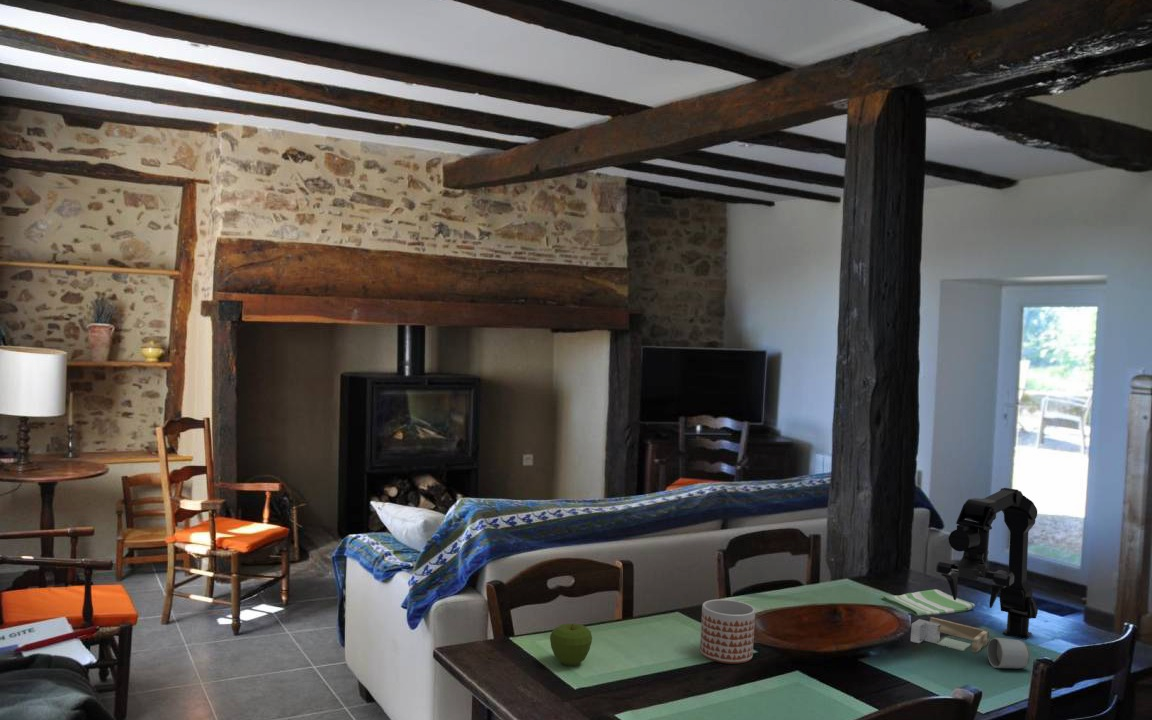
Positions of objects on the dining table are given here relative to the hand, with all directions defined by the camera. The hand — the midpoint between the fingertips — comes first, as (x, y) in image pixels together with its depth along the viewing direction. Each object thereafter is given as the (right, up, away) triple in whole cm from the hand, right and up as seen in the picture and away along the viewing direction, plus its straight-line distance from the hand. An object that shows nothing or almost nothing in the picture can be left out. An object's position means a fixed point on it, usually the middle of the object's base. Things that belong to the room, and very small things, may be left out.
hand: (972, 603), depth 247 cm
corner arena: (-1, -14, +12) cm, 18 cm away
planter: (-68, -11, -8) cm, 70 cm away
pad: (-2, -14, +8) cm, 16 cm away
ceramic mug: (+6, -15, -6) cm, 17 cm away
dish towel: (+5, -13, +45) cm, 47 cm away
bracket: (-9, -13, +9) cm, 19 cm away
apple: (-109, -10, -20) cm, 111 cm away
